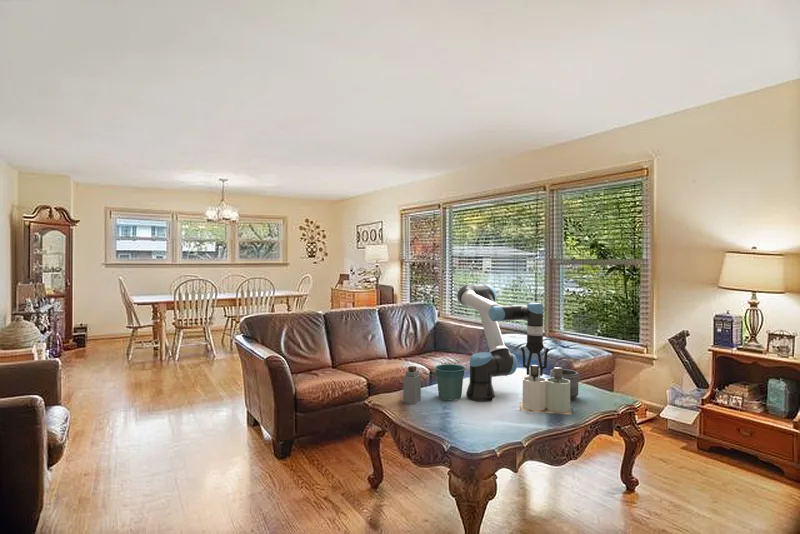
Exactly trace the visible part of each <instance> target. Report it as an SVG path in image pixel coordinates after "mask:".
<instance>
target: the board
mask: <svg viewBox="0 0 800 534" xmlns="http://www.w3.org/2000/svg"><path fill="white" fill-rule="evenodd" d="M518 405H519V406H518V407H519V411H520V412H533V413H545V414H555V415H556V414H557V415H558V414H559V415H570V416H573V413H572V411H571V409H570V411H569V412H566V413H557V412H552V411H549V410H547V409H545V410H542V411H532V410H527V409H525V408H523V401H519V404H518Z"/></svg>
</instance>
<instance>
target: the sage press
mask: <svg viewBox="0 0 800 534" xmlns="http://www.w3.org/2000/svg"><path fill="white" fill-rule="evenodd" d="M553 369H554V378H553V377H552V378H550V377H547V378H545V379H546V409H547V410H549V411H552V412H557V413H566V412H569V411H570V410H571V401H570V380H567V379H563V378H562V369H563V368H562V367H558V366H556V367H555V366H554V368H553Z"/></svg>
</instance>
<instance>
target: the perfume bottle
mask: <svg viewBox="0 0 800 534" xmlns="http://www.w3.org/2000/svg"><path fill="white" fill-rule="evenodd" d="M419 373H420V371H419V370H418V369H417V366H415V365H410V366H408V368H407V370H405V374H404V375H403V380H402V381H403V383H402V384H403V386H402V387H403V391H402V392H403V393H402V394H403V396H402V398H403V400H402V402H403V403H405V404H413V405H416V404H417V403H419V402H421V401H422V399H421V398H422V375H421V374H419Z"/></svg>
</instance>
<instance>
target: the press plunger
mask: <svg viewBox="0 0 800 534" xmlns="http://www.w3.org/2000/svg"><path fill="white" fill-rule="evenodd" d="M530 368H531V376H532V377H533V381H534V382H536V377H538V372H539V368H540V365H537V364H530Z"/></svg>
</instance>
